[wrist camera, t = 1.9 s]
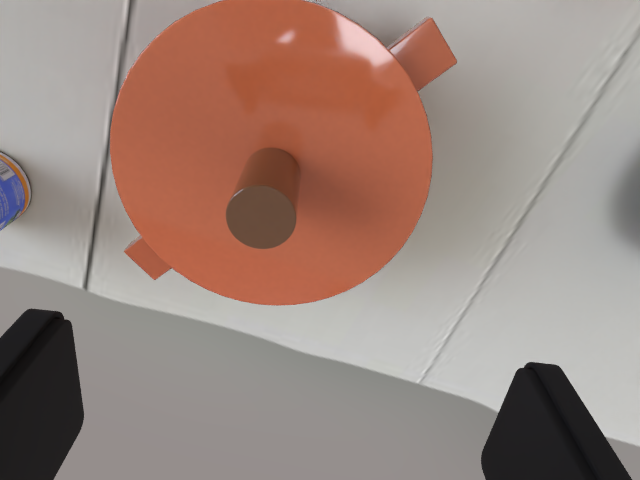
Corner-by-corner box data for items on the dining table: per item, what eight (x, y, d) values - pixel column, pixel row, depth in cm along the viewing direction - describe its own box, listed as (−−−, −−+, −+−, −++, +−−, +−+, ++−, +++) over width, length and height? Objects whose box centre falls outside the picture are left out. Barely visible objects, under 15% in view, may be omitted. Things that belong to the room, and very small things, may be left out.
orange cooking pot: (93, 131, 31) (26, 173, 24) (344, -92, 25) (354, -123, 18) (241, 282, 36) (223, 353, 29) (475, 127, 31) (522, 168, 24)
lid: (52, 136, 23) (-29, 180, 18) (301, -92, 19) (293, -125, 14) (256, 335, 29) (241, 415, 24) (483, 195, 25) (529, 253, 19)
